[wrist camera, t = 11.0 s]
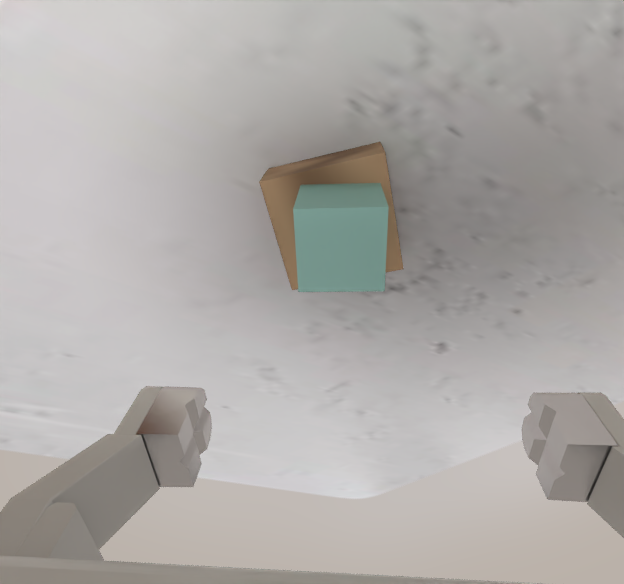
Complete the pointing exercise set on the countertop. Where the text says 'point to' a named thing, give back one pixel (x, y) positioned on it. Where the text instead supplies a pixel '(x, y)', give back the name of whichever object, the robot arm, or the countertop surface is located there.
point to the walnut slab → (326, 170)
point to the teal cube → (341, 237)
